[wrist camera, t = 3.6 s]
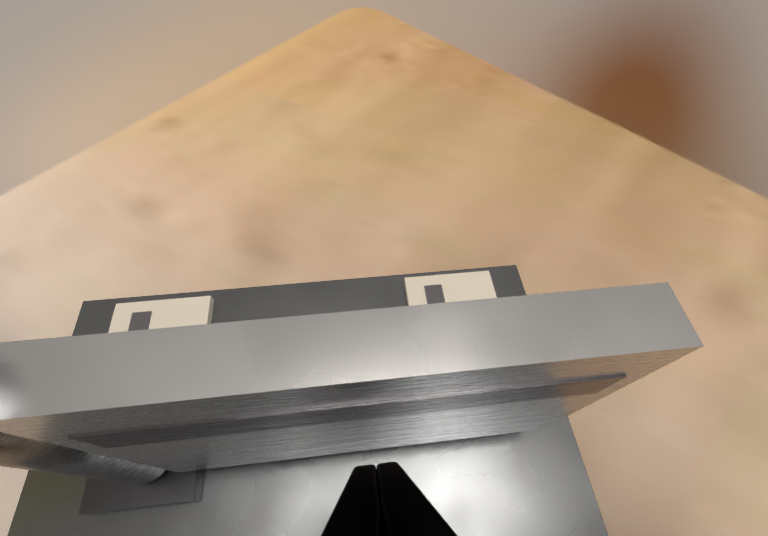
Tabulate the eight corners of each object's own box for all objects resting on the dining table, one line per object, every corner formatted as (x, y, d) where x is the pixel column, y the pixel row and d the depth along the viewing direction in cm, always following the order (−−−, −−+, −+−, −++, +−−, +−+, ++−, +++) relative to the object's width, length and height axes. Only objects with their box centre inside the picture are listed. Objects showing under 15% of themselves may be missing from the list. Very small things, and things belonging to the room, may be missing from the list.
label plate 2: (520, 392, 14) (524, 389, 14) (423, 403, 14) (424, 400, 14) (486, 275, 17) (489, 269, 17) (403, 282, 17) (404, 276, 16)
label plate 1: (197, 430, 13) (192, 427, 13) (86, 442, 13) (77, 440, 13) (214, 300, 16) (210, 294, 16) (121, 308, 16) (114, 302, 15)
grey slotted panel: (113, 487, 12) (-296, 442, 4) (125, 429, 12) (-201, 314, 5) (543, 435, 13) (761, 333, 6) (528, 385, 13) (700, 240, 6)
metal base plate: (675, 816, 10) (746, 886, 8) (-82, 971, 9) (-211, 1101, 7) (506, 282, 19) (521, 254, 17) (104, 317, 17) (70, 291, 15)
